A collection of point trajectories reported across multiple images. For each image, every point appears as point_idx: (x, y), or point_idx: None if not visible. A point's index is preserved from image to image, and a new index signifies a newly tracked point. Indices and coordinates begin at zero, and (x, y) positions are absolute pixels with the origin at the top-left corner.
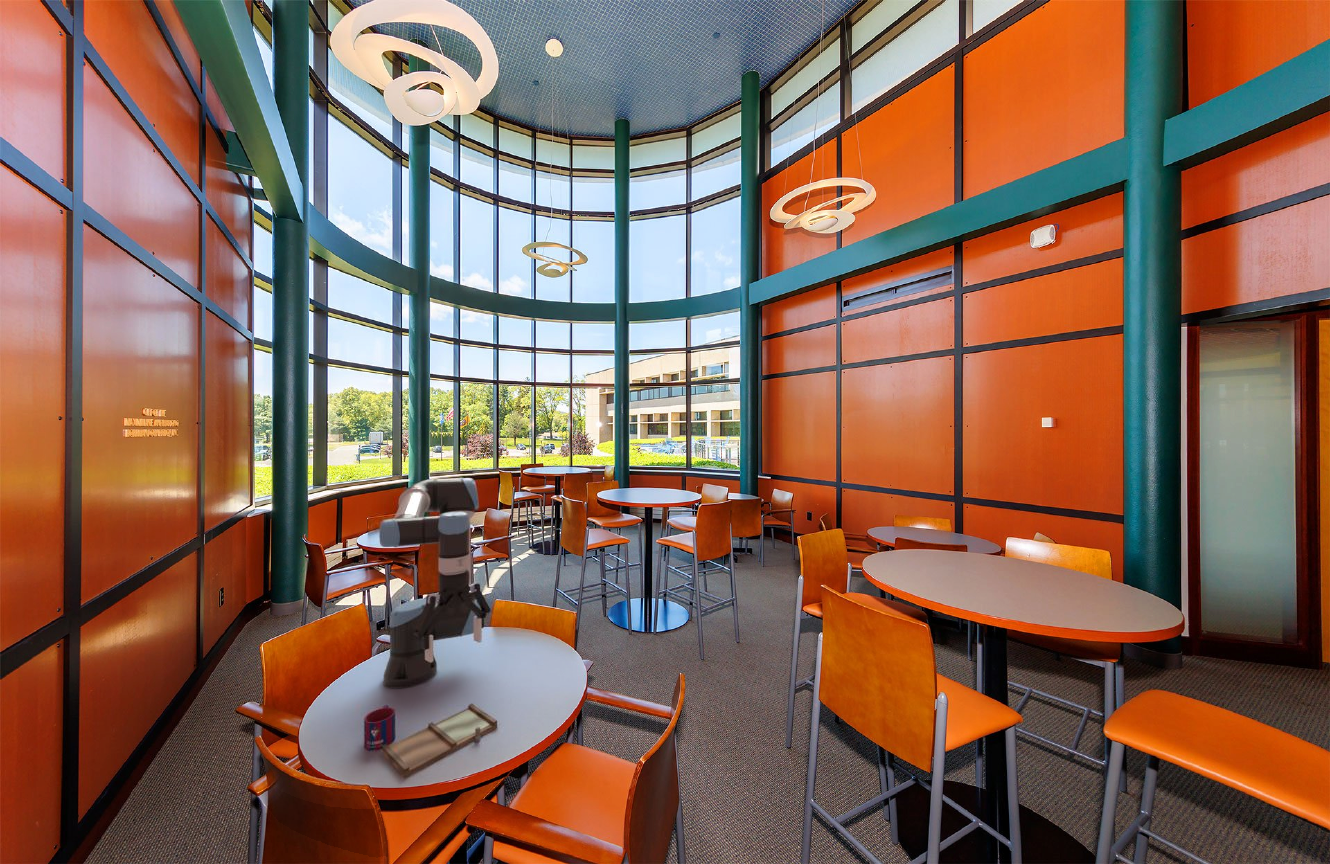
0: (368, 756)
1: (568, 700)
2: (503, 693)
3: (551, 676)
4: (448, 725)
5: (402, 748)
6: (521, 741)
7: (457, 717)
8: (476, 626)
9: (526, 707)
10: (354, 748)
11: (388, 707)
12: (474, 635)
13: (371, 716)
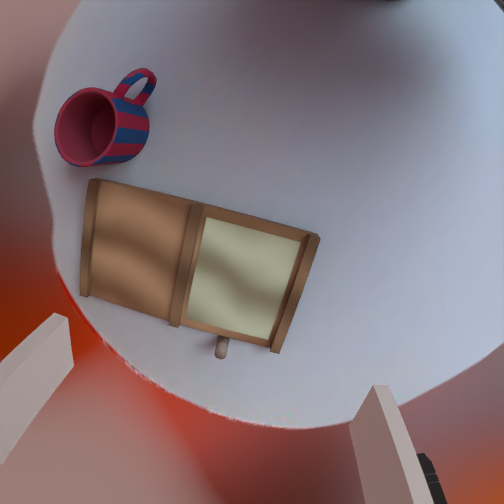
0: None
1: (403, 396)
2: (407, 256)
3: (483, 309)
4: (221, 250)
5: (114, 220)
6: (259, 405)
7: (258, 243)
8: (381, 483)
9: (365, 348)
10: None
11: (116, 108)
12: (376, 416)
13: (88, 95)
